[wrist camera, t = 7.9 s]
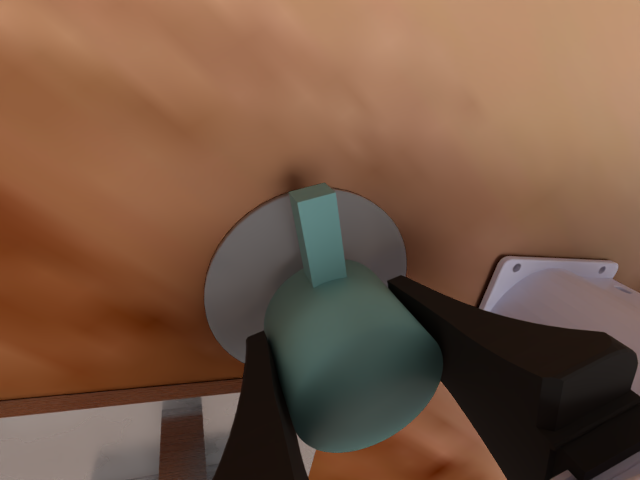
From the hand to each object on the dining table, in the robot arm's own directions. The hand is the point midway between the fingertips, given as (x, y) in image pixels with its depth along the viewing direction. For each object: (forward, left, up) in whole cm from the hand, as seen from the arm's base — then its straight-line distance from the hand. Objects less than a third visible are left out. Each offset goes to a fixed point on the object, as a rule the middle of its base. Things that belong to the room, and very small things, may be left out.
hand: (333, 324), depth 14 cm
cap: (+1, -1, -1) cm, 2 cm away
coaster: (0, 0, -3) cm, 3 cm away
